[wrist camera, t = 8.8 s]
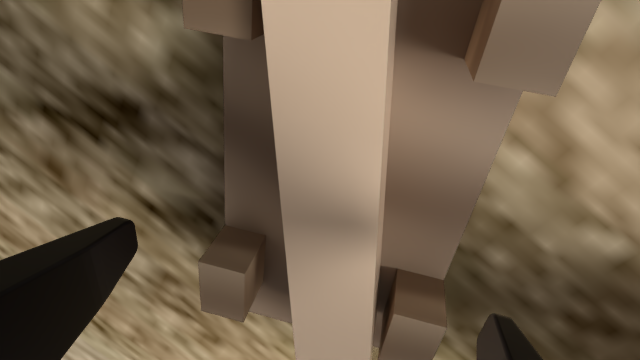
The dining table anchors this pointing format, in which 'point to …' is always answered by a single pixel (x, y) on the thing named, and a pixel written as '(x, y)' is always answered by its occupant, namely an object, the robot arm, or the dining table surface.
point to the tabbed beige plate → (403, 150)
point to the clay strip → (331, 163)
